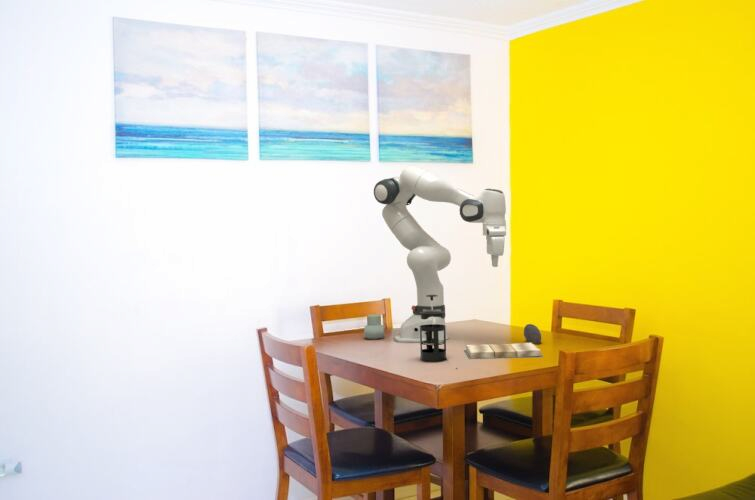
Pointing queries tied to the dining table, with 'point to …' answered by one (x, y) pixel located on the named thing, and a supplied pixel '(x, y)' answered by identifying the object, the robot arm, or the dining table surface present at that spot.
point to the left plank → (480, 351)
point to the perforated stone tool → (532, 334)
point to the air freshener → (374, 327)
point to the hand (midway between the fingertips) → (494, 266)
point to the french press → (432, 331)
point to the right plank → (526, 349)
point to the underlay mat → (495, 358)
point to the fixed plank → (503, 350)
